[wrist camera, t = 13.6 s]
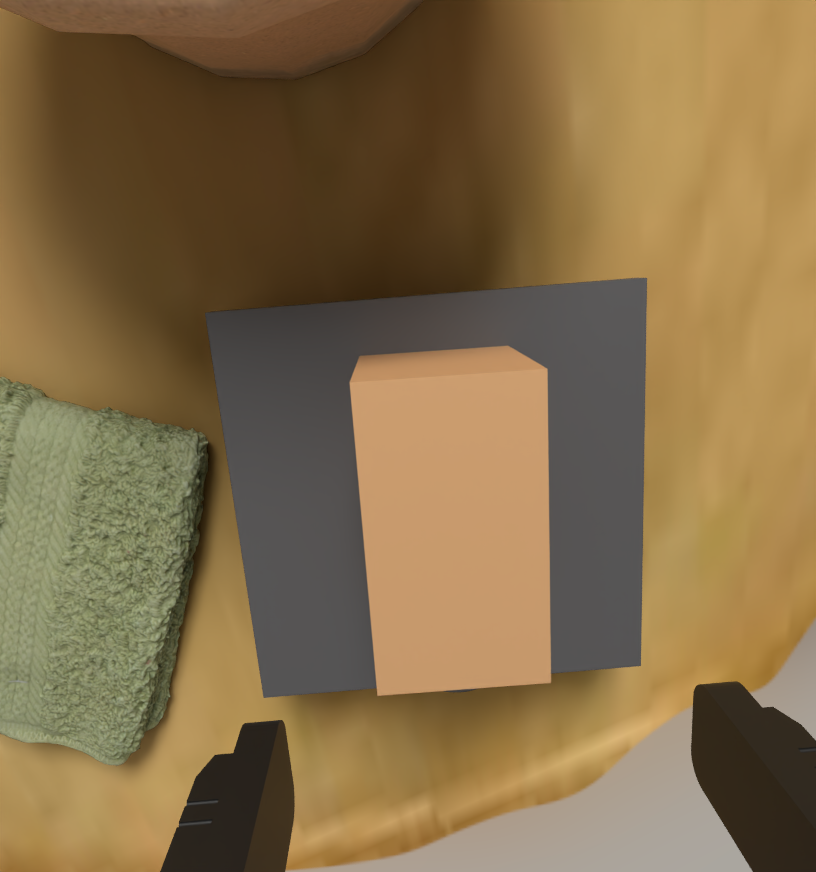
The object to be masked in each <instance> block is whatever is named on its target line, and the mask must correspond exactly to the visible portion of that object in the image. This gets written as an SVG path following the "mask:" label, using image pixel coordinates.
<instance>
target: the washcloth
mask: <svg viewBox="0 0 816 872" xmlns="http://www.w3.org/2000/svg"><path fill="white" fill-rule="evenodd" d="M208 443H209V442H207V438H206V436H205V435H204V434H203V433H202V432H196V431H195V430H194V429H193V428H191V429H190V430H186V429H183V428H181V427H179V426H174V425H170V424H168V425H165V424H159V423H153V422H152V421H151V420H148V419H147V418H140V419H138V418H136V417H134V416H130V415H129V414H127V413H124V412H121V411H118V410H112V409H111V408H110V407H107V408H105V409H101V410H99V411H95V410H92V409H90V408H87V407H83V406H79V405H75V404H73V403H70V402H66V401H58V400H55V399H53V398H47V397H46V396H45V394H44V392H43V391H42V390H40V389H37V388H34V387H32V386H31V384H22V383H19V382H15V383H12V382H11V381H10V380H9V379H7V378H5V377H0V733H1V734H3V735H6V736H8V737H10V738H13V739H16V740H19V741H21V742H26V743H52V744H59V745H64V746H67V747H71V748H74V749H76V750H79V751H82V752H84V753H86V754H88V755H90V756H92V757H93V758H95V759H96V760H98V761H100V762H102V763H104V764H108V765H121V764H123V763H124V762H125V761H126V760H127V759H128V758H129V757H130V755H131V753H133V752H135V751H137V750H138V749H140V743H141V739H142V738H143V737H144V733H145V731H148V730H150V729H152V728H154V727H155V726H157V725H158V723H159V721H160V719H161V718H162V717H163V715H164V712H165V710H166V709H167V707H166V704H167V701H168V698H169V697H171V696H170V694H169V687H170V683H171V679H170V678H171V675H172V671H173V668H174V667H175V662H176V652H177V647H178V638H179V637H180V632H179V626H180V625H181V624H182V623H183V618H184V612H185V605H186V603H187V599H188V598H187V596H188V594H189V591H188V587H189V586H188V585H189V580H190V579H191V576H192V573H193V565H194V560H193V559H192V556H193V554H194V553H195V551H196V546H197V545H198V543H199V536H200V533H199V530H198V529H197V526H198V524H199V522H200V519H201V514H202V512H203V505H202V503H201V501H203V500H204V496H203V488H204V481H205V477H206V474H207V471H208V456H209V455H208V453H207V446H208Z"/></svg>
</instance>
